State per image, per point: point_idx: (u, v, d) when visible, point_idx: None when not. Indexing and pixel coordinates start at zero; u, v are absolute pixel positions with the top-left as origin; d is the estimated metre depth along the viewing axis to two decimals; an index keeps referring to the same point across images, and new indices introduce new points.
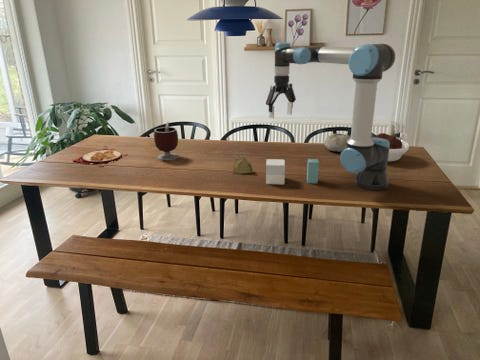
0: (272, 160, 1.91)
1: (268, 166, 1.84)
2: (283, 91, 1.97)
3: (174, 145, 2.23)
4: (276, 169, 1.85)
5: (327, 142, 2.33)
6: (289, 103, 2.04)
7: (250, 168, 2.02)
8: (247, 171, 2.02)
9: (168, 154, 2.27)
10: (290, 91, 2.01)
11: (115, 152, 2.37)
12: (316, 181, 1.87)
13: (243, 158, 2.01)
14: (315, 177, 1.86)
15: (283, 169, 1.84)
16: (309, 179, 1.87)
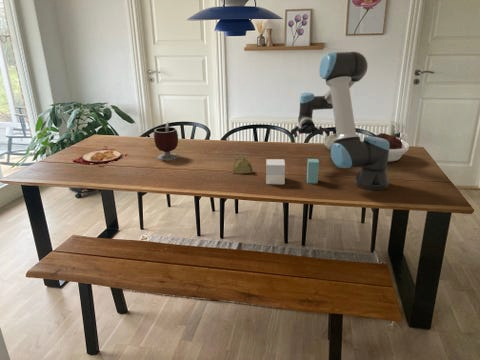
0: (272, 160, 1.91)
1: (269, 166, 1.84)
2: (309, 128, 2.03)
3: (174, 145, 2.23)
4: (276, 169, 1.85)
5: (327, 142, 2.33)
6: (323, 134, 1.96)
7: (250, 168, 2.02)
8: (247, 171, 2.02)
9: (168, 154, 2.27)
10: (321, 130, 2.02)
11: (115, 152, 2.37)
12: (316, 181, 1.87)
13: (243, 158, 2.01)
14: (315, 177, 1.86)
15: (283, 169, 1.84)
16: (309, 179, 1.87)
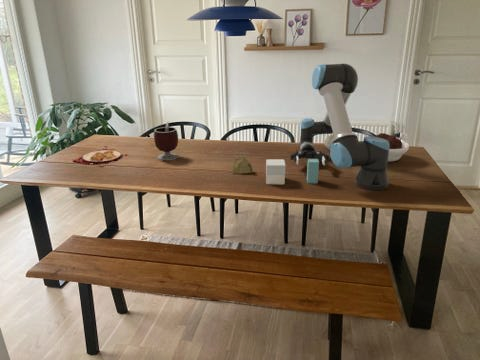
0: (272, 160, 1.90)
1: (269, 166, 1.84)
2: (309, 152, 2.08)
3: (174, 145, 2.23)
4: (277, 169, 1.84)
5: (327, 142, 2.33)
6: (322, 159, 2.02)
7: (250, 168, 2.02)
8: (247, 171, 2.02)
9: (168, 154, 2.27)
10: (321, 154, 2.07)
11: (115, 152, 2.37)
12: (316, 181, 1.87)
13: (243, 158, 2.01)
14: (315, 177, 1.86)
15: (284, 169, 1.84)
16: (309, 179, 1.87)
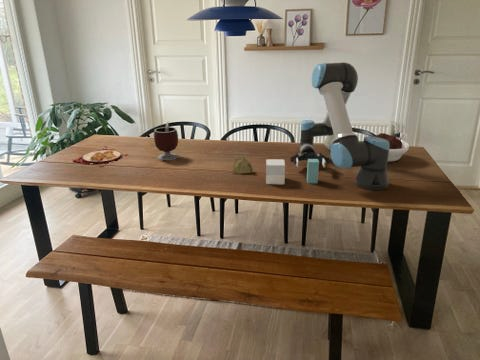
0: (272, 160, 1.91)
1: (269, 166, 1.84)
2: (309, 154, 2.06)
3: (174, 145, 2.23)
4: (276, 169, 1.84)
5: (327, 142, 2.33)
6: (322, 161, 1.99)
7: (250, 168, 2.02)
8: (247, 171, 2.02)
9: (168, 154, 2.27)
10: (321, 157, 2.05)
11: (115, 152, 2.36)
12: (316, 181, 1.87)
13: (243, 158, 2.01)
14: (315, 177, 1.86)
15: (283, 169, 1.84)
16: (309, 179, 1.87)
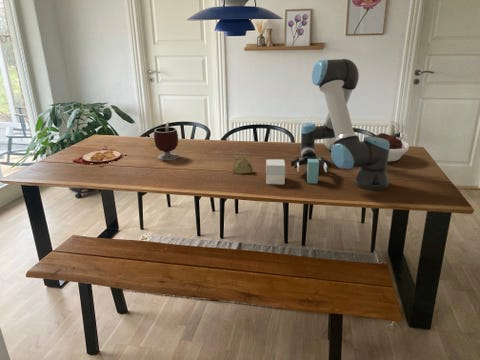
0: (272, 160, 1.90)
1: (269, 166, 1.84)
2: None
3: (174, 145, 2.23)
4: (276, 169, 1.84)
5: (327, 142, 2.33)
6: (324, 165, 1.93)
7: (250, 168, 2.02)
8: (247, 171, 2.02)
9: (168, 154, 2.27)
10: (323, 161, 1.98)
11: (115, 152, 2.36)
12: (316, 181, 1.87)
13: (243, 158, 2.01)
14: (315, 177, 1.86)
15: (283, 169, 1.84)
16: (309, 179, 1.87)
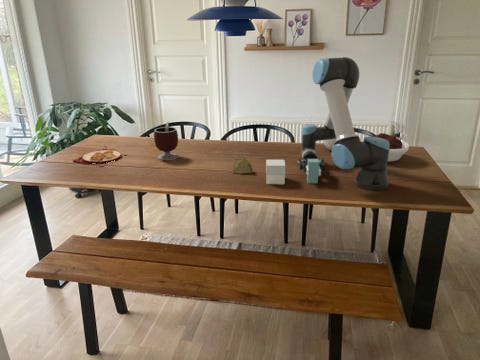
0: (272, 160, 1.90)
1: (269, 166, 1.84)
2: None
3: (174, 145, 2.23)
4: (277, 169, 1.84)
5: (327, 142, 2.33)
6: None
7: (250, 168, 2.02)
8: (247, 171, 2.02)
9: (168, 154, 2.27)
10: (321, 163, 1.94)
11: (115, 152, 2.36)
12: (316, 181, 1.87)
13: (243, 158, 2.01)
14: (315, 177, 1.86)
15: (284, 169, 1.84)
16: (309, 179, 1.87)
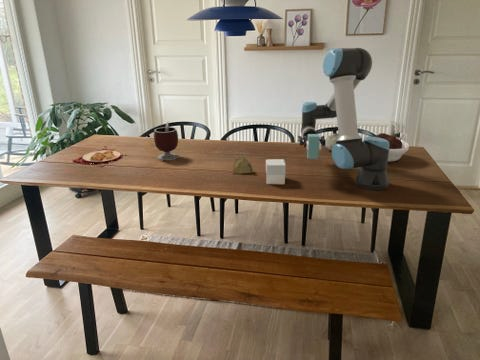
0: (272, 160, 1.91)
1: (269, 166, 1.84)
2: None
3: (174, 145, 2.23)
4: (277, 169, 1.85)
5: (327, 142, 2.33)
6: None
7: (250, 168, 2.02)
8: (247, 171, 2.02)
9: (168, 154, 2.27)
10: (321, 139, 1.91)
11: (115, 152, 2.36)
12: (317, 156, 1.83)
13: (243, 158, 2.01)
14: (316, 152, 1.83)
15: (284, 169, 1.85)
16: (309, 154, 1.83)
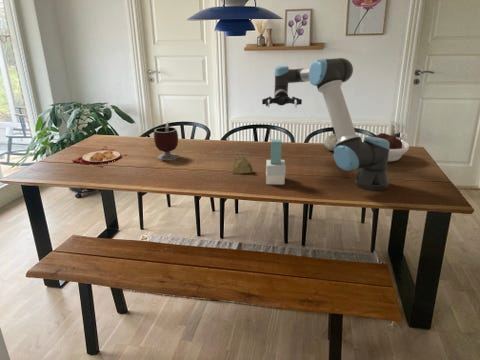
0: None
1: (269, 166, 1.84)
2: (282, 98, 2.01)
3: (174, 145, 2.23)
4: (277, 169, 1.84)
5: (327, 142, 2.33)
6: (294, 102, 1.94)
7: (250, 168, 2.02)
8: (247, 171, 2.02)
9: (168, 154, 2.27)
10: (294, 99, 2.00)
11: (115, 152, 2.36)
12: (279, 162, 1.85)
13: (243, 158, 2.01)
14: (278, 157, 1.84)
15: (284, 169, 1.84)
16: (272, 159, 1.85)
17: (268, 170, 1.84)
